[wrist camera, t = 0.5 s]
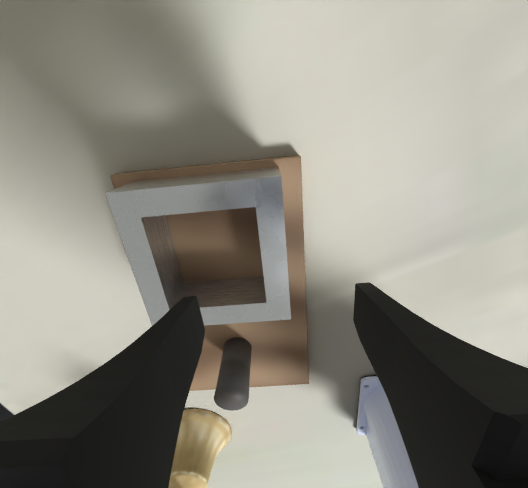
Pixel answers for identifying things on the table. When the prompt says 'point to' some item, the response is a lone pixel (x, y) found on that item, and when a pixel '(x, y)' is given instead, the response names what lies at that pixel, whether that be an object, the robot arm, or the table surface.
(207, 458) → the hand bell
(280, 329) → the brown board
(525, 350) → the table surface
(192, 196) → the grey square frame
